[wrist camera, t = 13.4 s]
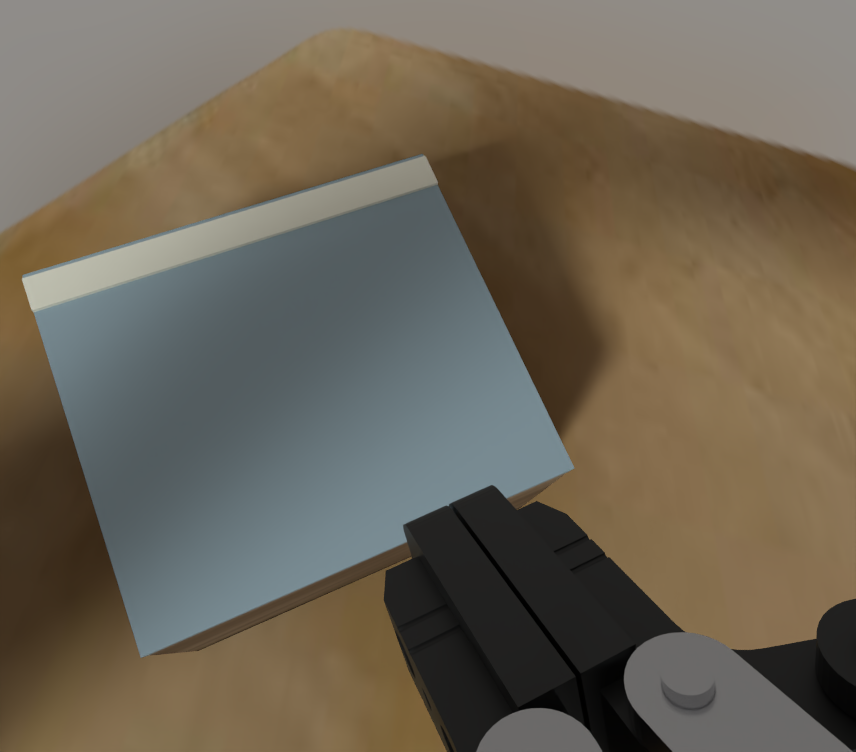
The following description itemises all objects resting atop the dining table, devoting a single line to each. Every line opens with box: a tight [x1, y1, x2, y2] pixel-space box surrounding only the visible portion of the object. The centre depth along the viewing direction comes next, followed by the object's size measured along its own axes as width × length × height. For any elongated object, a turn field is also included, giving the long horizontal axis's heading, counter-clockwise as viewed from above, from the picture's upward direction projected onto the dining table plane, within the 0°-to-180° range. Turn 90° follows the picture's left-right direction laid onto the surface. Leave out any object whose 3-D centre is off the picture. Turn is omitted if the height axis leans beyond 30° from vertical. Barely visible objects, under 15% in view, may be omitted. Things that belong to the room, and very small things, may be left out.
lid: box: [22, 154, 574, 658], centre depth 30 cm, size 16×18×1 cm
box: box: [151, 473, 565, 655], centre depth 35 cm, size 16×18×9 cm
